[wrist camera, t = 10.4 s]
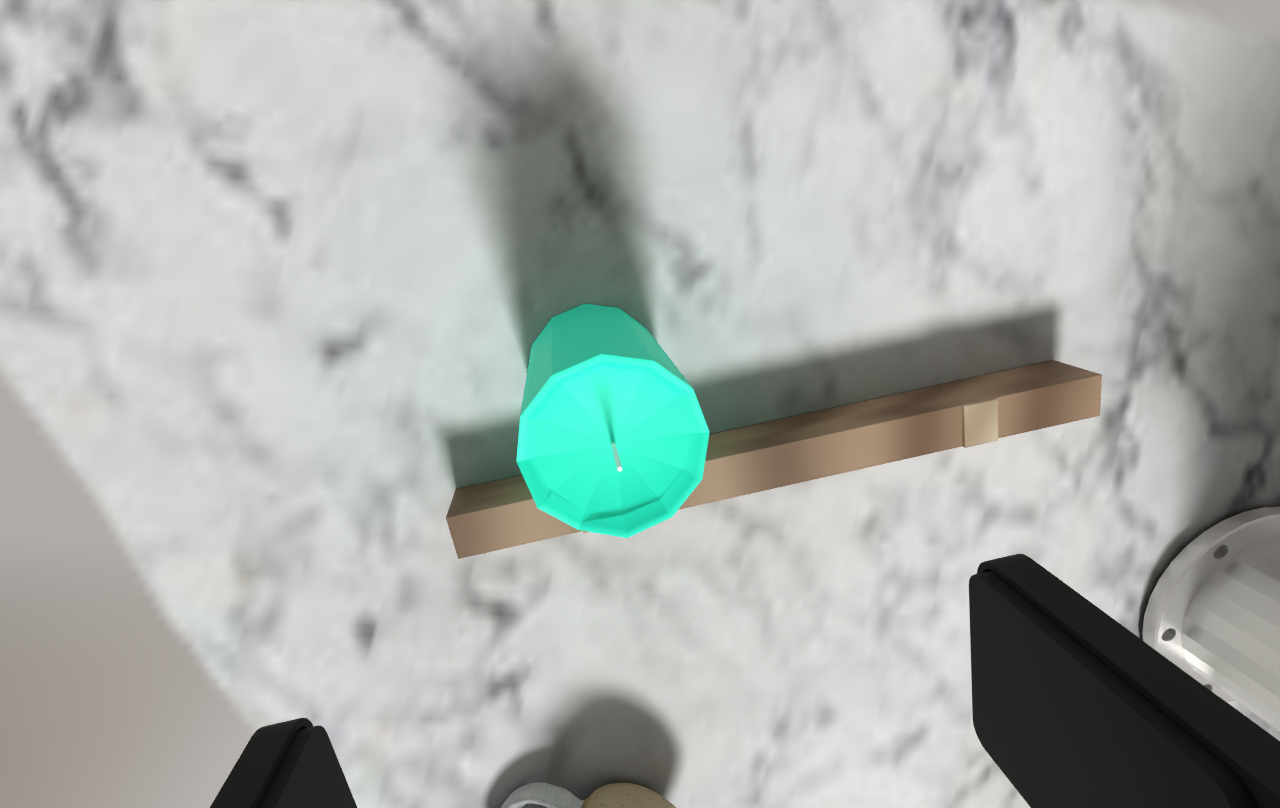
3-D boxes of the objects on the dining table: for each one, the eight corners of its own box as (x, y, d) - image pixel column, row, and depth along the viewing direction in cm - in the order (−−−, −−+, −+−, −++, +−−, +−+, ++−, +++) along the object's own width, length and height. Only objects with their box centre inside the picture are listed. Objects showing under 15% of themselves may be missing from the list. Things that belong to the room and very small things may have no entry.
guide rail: (1053, 360, 32) (1105, 375, 29) (1052, 397, 33) (1103, 416, 30) (456, 489, 30) (445, 520, 27) (466, 526, 31) (457, 561, 28)
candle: (555, 281, 28) (557, 331, 17) (679, 332, 30) (759, 410, 18) (508, 405, 30) (480, 528, 18) (629, 448, 31) (673, 588, 20)
